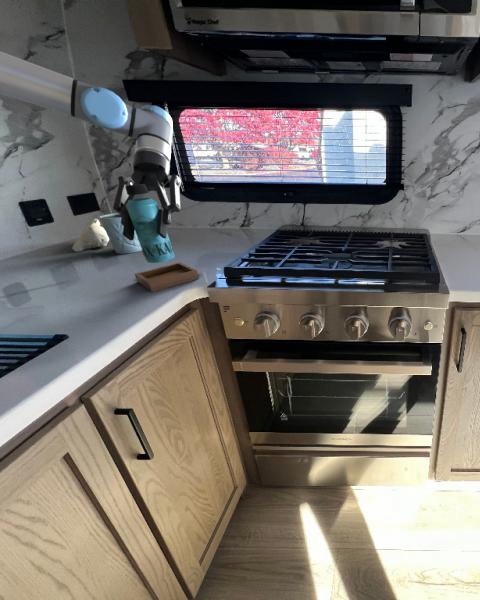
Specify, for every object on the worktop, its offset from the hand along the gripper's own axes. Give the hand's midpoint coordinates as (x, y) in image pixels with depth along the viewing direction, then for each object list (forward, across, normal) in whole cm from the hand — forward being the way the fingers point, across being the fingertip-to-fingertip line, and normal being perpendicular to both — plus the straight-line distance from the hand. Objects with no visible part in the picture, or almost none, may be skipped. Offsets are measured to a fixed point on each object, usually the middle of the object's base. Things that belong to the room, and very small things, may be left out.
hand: (145, 236), depth 80 cm
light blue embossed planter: (-17, +25, -36) cm, 47 cm away
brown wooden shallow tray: (+7, 0, -12) cm, 13 cm away
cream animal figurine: (-23, +41, -42) cm, 63 cm away
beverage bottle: (+4, 0, -9) cm, 9 cm away
